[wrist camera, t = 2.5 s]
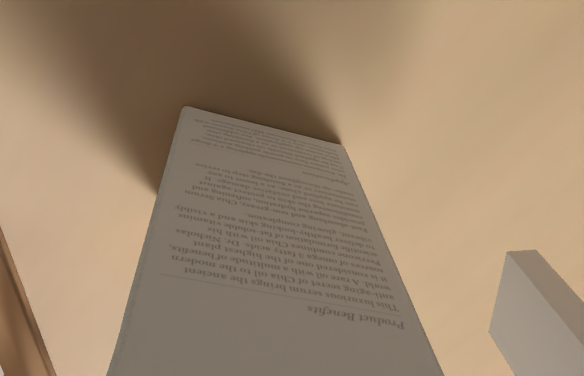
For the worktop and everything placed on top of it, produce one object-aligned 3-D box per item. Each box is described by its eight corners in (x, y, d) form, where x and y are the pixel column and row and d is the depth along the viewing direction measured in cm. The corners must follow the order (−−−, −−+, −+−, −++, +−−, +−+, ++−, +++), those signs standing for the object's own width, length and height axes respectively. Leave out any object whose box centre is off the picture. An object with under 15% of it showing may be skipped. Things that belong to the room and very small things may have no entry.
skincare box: (160, 206, 18) (53, 586, 8) (183, 100, 17) (80, 422, 6) (313, 238, 20) (390, 601, 9) (350, 144, 18) (499, 468, 7)
